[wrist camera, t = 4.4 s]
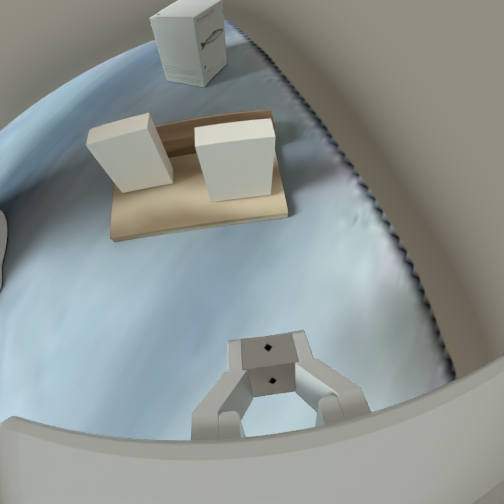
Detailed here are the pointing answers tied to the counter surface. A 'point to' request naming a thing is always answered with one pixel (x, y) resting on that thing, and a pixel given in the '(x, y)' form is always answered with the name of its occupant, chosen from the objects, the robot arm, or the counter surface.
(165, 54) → the supplement box
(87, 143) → the block
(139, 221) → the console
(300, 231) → the counter surface
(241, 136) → the white rectangular block
